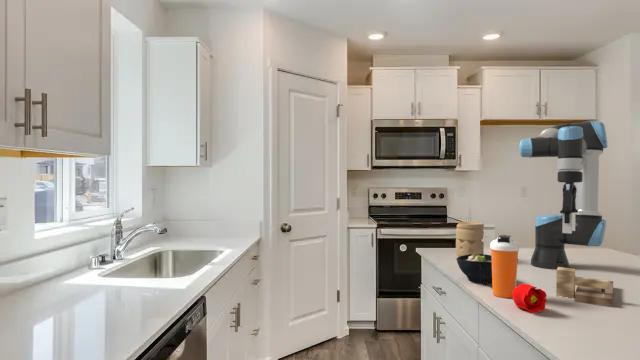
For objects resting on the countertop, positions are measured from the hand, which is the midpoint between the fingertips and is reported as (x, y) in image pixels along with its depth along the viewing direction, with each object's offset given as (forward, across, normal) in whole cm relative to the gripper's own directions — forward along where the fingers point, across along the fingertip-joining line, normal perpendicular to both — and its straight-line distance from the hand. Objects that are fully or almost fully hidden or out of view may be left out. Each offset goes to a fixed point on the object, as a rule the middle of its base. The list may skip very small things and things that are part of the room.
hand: (569, 231), depth 147 cm
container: (+20, +38, +44) cm, 61 cm away
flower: (+22, -29, +8) cm, 38 cm away
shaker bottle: (+22, -17, +17) cm, 33 cm away
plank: (+21, +3, -8) cm, 22 cm away
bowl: (+21, -1, +29) cm, 36 cm away
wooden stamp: (+21, -5, -5) cm, 22 cm away
